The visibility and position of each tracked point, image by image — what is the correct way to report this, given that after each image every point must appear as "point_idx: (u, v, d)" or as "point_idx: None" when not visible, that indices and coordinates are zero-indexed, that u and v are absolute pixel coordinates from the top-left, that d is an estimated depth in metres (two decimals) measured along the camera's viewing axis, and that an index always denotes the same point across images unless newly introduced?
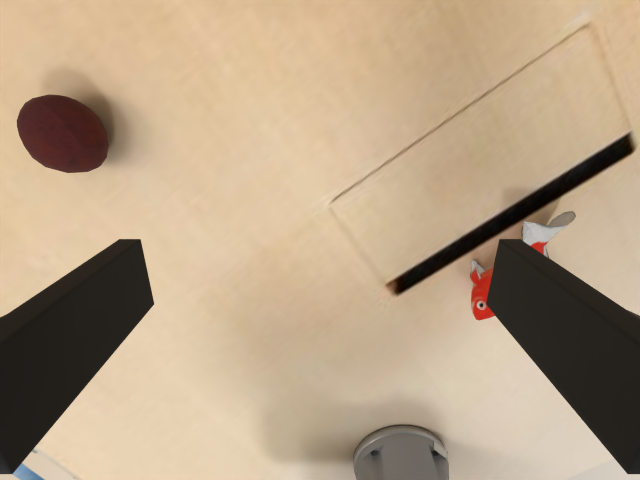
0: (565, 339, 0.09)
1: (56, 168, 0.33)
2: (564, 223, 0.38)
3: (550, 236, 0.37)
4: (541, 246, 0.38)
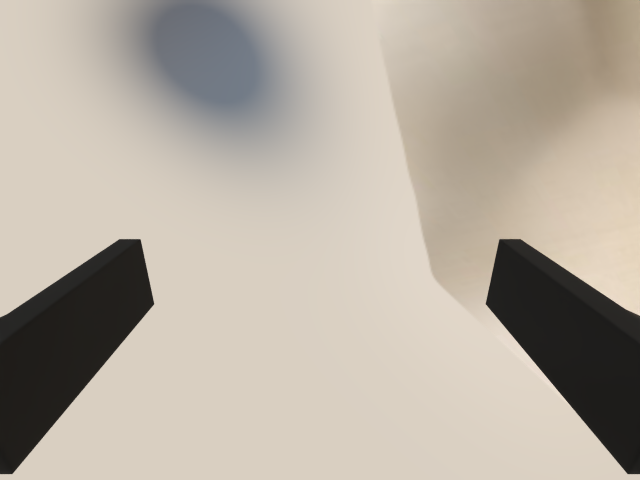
0: (565, 339, 0.09)
1: None
2: None
3: None
4: None
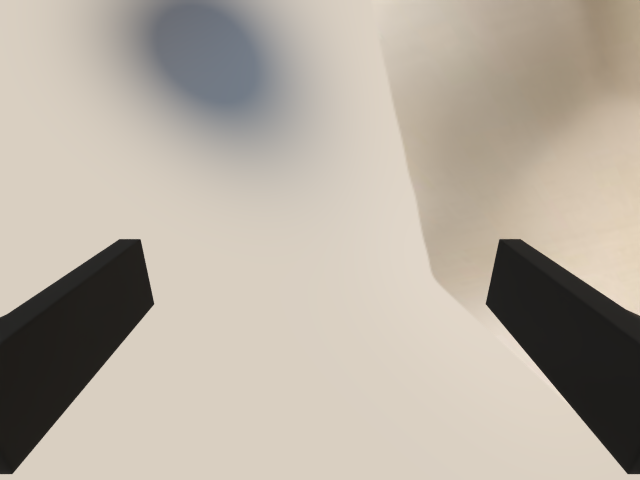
0: (565, 339, 0.09)
1: None
2: None
3: None
4: None
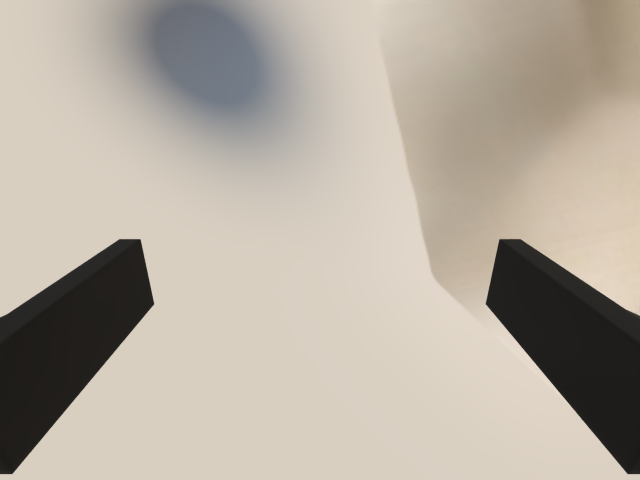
0: (565, 339, 0.09)
1: None
2: None
3: None
4: None
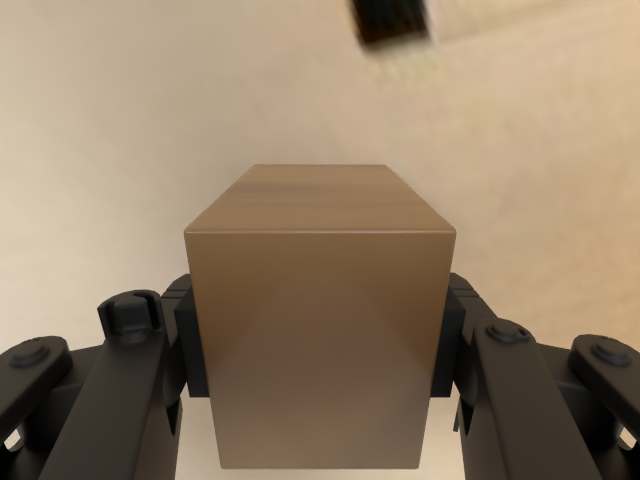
0: None
1: None
2: None
3: None
4: None
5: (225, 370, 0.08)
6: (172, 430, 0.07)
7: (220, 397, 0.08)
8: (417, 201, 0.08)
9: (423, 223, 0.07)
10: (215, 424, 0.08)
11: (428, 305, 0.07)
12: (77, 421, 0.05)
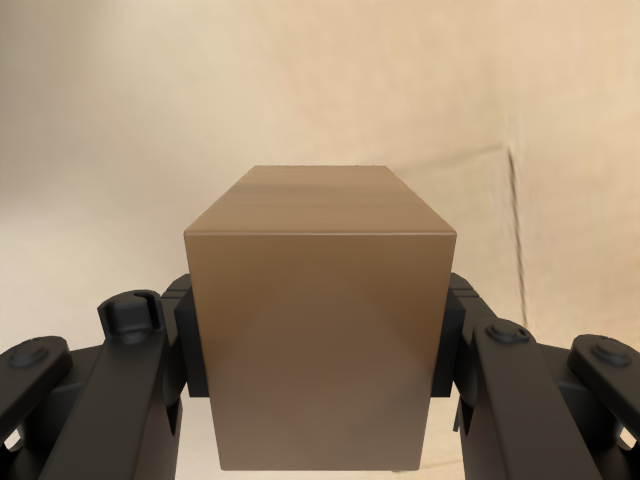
0: None
1: None
2: None
3: None
4: None
5: (225, 372, 0.08)
6: (172, 430, 0.07)
7: (220, 399, 0.08)
8: (417, 202, 0.08)
9: (423, 225, 0.07)
10: (215, 426, 0.08)
11: (428, 307, 0.07)
12: (77, 421, 0.05)
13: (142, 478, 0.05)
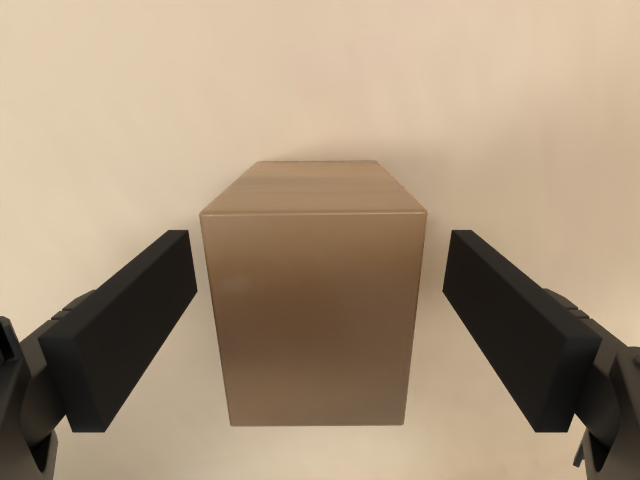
0: (495, 318, 0.10)
1: None
2: None
3: None
4: None
5: (234, 335, 0.09)
6: (42, 467, 0.07)
7: (230, 359, 0.09)
8: (398, 189, 0.10)
9: (400, 206, 0.08)
10: (225, 384, 0.10)
11: (406, 275, 0.08)
12: None
13: None
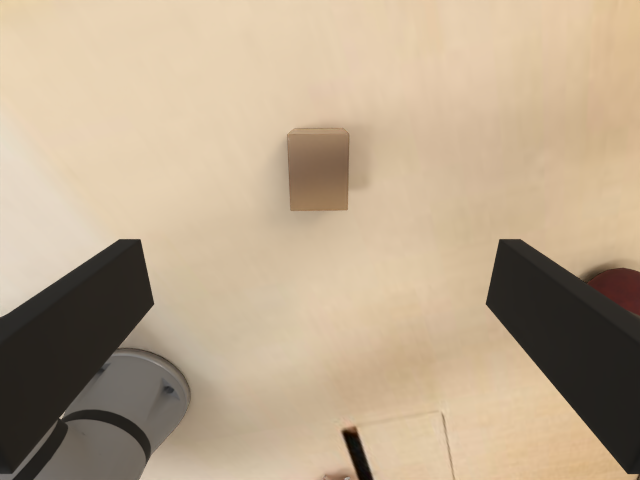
0: (565, 339, 0.09)
1: (618, 299, 0.38)
2: None
3: None
4: None
5: (294, 174, 0.30)
6: None
7: (292, 183, 0.31)
8: None
9: None
10: (290, 193, 0.31)
11: (344, 153, 0.30)
12: None
13: None
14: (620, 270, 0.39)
